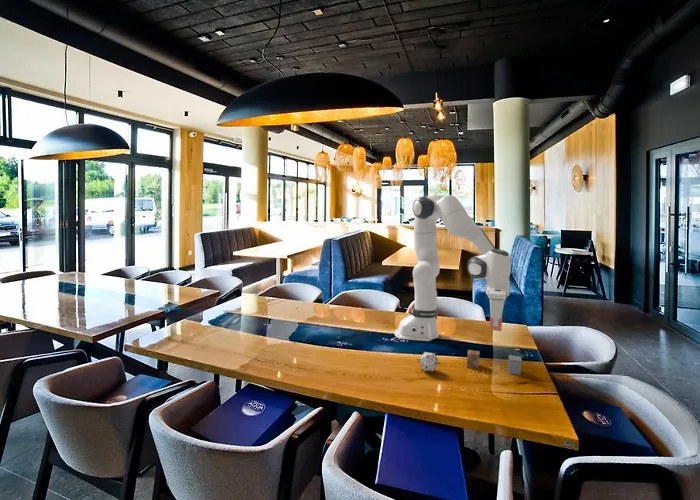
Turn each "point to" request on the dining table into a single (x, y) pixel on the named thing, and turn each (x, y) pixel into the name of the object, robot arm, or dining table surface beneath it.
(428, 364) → the game die
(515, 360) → the grey block
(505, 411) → the dining table surface
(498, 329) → the red block
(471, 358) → the walnut block
